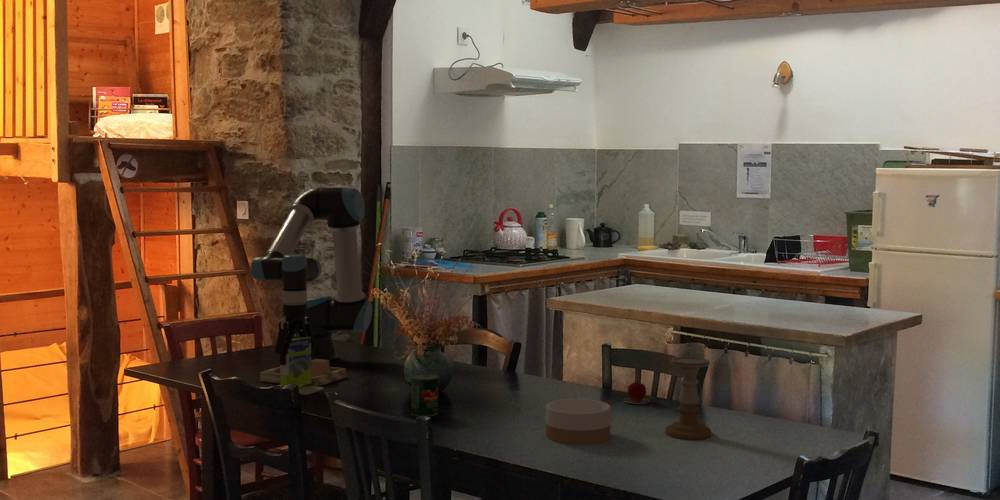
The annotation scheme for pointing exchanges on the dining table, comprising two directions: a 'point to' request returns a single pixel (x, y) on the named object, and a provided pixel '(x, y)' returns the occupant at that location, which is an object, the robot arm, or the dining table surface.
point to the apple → (636, 393)
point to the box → (298, 362)
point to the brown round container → (578, 421)
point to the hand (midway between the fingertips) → (295, 371)
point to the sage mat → (308, 389)
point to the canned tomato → (424, 394)
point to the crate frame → (333, 375)
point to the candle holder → (688, 401)
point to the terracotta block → (319, 367)
